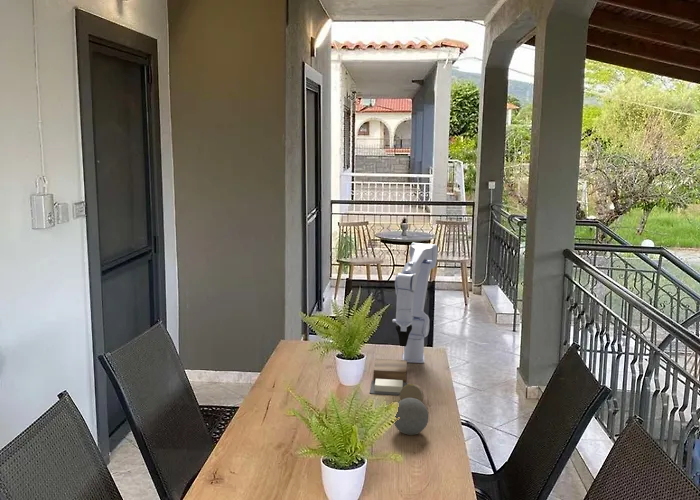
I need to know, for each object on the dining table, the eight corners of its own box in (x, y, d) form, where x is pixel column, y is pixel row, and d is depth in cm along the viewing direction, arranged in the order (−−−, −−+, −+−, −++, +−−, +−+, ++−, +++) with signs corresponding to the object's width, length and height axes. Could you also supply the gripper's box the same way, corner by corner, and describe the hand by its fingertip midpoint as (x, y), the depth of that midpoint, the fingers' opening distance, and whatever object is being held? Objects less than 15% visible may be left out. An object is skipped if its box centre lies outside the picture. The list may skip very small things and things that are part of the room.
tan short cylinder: (428, 399, 208) (431, 378, 202) (415, 421, 201) (418, 401, 195) (407, 389, 211) (410, 369, 204) (393, 411, 204) (396, 391, 198)
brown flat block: (375, 369, 233) (375, 358, 232) (406, 371, 232) (406, 360, 231) (373, 381, 221) (373, 370, 220) (405, 383, 220) (406, 372, 219)
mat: (371, 381, 221) (371, 380, 221) (407, 383, 220) (407, 382, 220) (369, 393, 210) (369, 392, 210) (407, 395, 209) (407, 395, 209)
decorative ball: (405, 422, 190) (407, 389, 188) (434, 432, 183) (436, 398, 182) (384, 433, 182) (385, 399, 180) (414, 444, 176) (415, 409, 174)
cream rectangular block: (374, 385, 211) (374, 391, 212) (402, 386, 211) (402, 392, 211) (375, 378, 217) (375, 384, 218) (402, 380, 217) (402, 385, 217)
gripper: (393, 302, 234) (392, 339, 236) (392, 312, 219) (390, 351, 222) (413, 303, 233) (411, 340, 235) (413, 313, 219) (411, 352, 221)
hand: (403, 345), depth 228 cm, fingers closed
